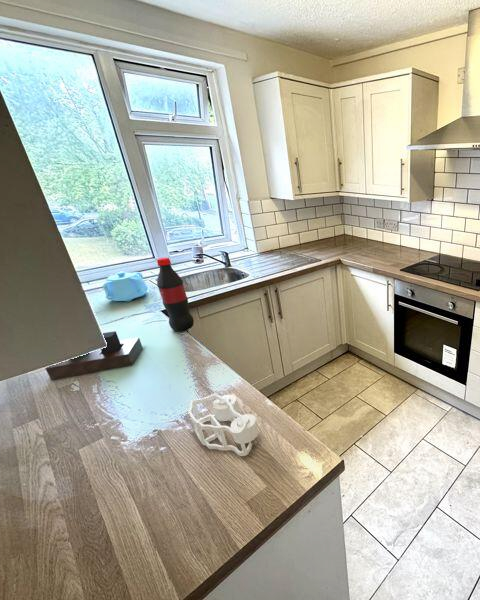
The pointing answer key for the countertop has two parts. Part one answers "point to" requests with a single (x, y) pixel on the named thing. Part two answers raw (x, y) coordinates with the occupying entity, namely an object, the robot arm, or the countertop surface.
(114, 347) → the black upright block
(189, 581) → the countertop surface
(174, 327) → the cola bottle
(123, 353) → the walnut base
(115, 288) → the decorative pot
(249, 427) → the skeletal toy car
